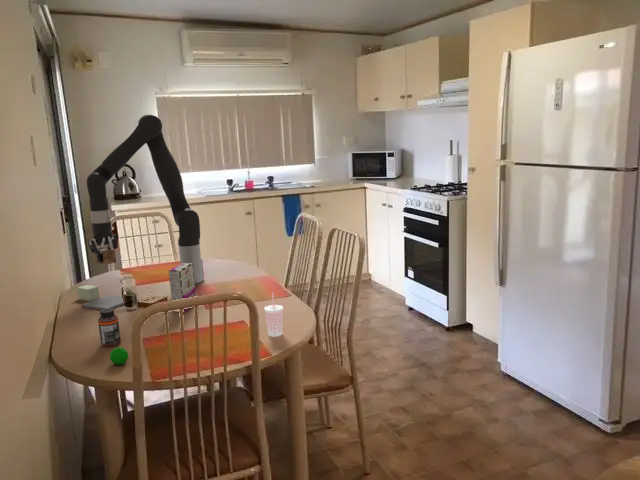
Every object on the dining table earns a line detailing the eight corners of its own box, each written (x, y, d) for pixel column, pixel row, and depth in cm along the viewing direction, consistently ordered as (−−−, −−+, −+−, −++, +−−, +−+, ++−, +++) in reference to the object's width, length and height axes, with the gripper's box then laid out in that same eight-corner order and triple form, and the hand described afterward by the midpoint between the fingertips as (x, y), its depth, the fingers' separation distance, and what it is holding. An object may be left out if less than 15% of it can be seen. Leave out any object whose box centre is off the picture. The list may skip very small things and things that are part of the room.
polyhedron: (116, 360, 158) (114, 345, 157) (131, 360, 157) (130, 344, 156) (107, 367, 153) (105, 351, 152) (124, 367, 152) (122, 351, 151)
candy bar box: (185, 303, 209) (181, 262, 206) (197, 303, 208) (193, 262, 205) (171, 312, 199) (167, 270, 195) (184, 313, 198) (180, 270, 194)
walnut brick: (104, 260, 227) (103, 249, 226) (116, 261, 224) (114, 250, 223) (96, 263, 223) (94, 251, 222) (107, 264, 220) (106, 252, 219)
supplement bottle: (104, 340, 173) (100, 307, 171) (123, 339, 174) (119, 306, 171) (98, 348, 167) (94, 313, 165) (117, 346, 168) (113, 312, 166)
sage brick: (88, 296, 224) (86, 284, 223) (99, 298, 221) (98, 286, 220) (78, 299, 220) (77, 287, 220) (90, 301, 217) (88, 289, 216)
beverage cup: (282, 337, 170) (279, 295, 167) (263, 337, 171) (260, 295, 168) (286, 330, 176) (284, 290, 173) (268, 330, 177) (266, 289, 174)
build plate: (110, 296, 222) (110, 294, 222) (135, 300, 215) (135, 298, 215) (82, 306, 210) (82, 304, 210) (107, 311, 203) (107, 308, 203)
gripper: (92, 224, 212) (97, 265, 216) (121, 218, 225) (125, 258, 228) (80, 223, 216) (85, 264, 219) (108, 217, 228) (113, 256, 231)
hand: (106, 260), depth 224 cm, fingers closed on walnut brick, 4 cm apart
